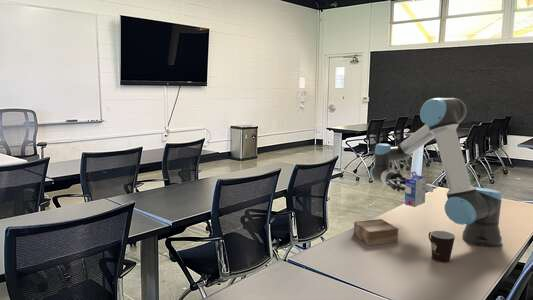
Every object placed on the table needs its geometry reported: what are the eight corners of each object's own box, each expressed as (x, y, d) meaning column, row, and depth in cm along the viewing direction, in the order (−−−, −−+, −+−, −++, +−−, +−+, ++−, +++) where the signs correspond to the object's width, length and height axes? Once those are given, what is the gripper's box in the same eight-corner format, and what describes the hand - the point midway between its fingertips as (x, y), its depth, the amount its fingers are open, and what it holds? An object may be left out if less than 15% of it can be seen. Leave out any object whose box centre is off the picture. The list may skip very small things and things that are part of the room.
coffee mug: (455, 264, 150) (457, 239, 148) (431, 262, 151) (433, 237, 150) (447, 252, 161) (449, 228, 159) (425, 250, 163) (427, 227, 161)
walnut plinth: (397, 242, 171) (398, 228, 170) (368, 245, 168) (369, 231, 167) (380, 231, 184) (381, 219, 183) (353, 234, 180) (354, 221, 179)
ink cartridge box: (413, 200, 183) (415, 169, 181) (425, 203, 180) (427, 171, 177) (403, 204, 177) (405, 173, 174) (415, 207, 173) (417, 175, 170)
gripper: (412, 184, 198) (442, 196, 177) (371, 187, 191) (397, 200, 170) (413, 169, 196) (444, 179, 175) (371, 172, 190) (398, 183, 169)
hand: (421, 189), depth 173 cm, fingers closed on ink cartridge box, 11 cm apart
